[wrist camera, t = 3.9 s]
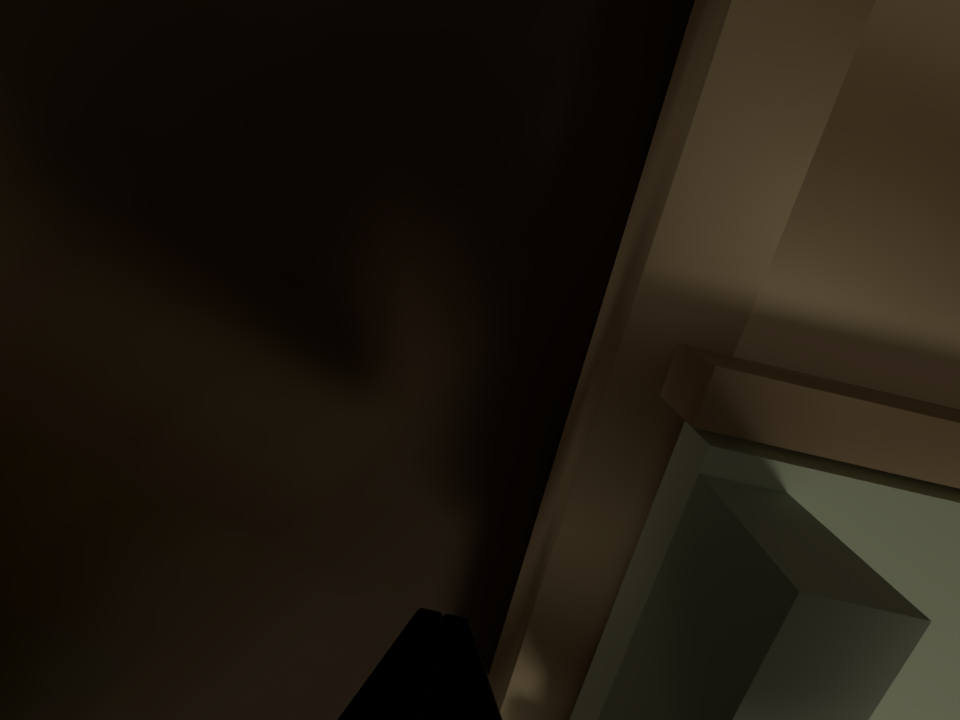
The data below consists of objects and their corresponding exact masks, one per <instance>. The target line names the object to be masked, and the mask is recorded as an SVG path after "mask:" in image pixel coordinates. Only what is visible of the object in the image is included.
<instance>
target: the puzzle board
mask: <svg viewBox="0 0 960 720" xmlns="http://www.w3.org/2000/svg"><path fill="white" fill-rule="evenodd" d="M685 421H686V422H687V423H688V424H689V425H690V426H691V427H694V428H698V429H702V430H707V431H711V432H715V433H720V434H724V435H728V436H733V437H737V438H741V439H746V440H750V441H754V442H759V443H763V444H767V445H772V446H776V447H781V448H785V449H789V450H794V451H798V452H802V453H807V454H811V455H815V456H820V457H824V458H828V459H833V460H837V461H841V462H846V463H850V464H854V465H859V466H863V467H867V468H872V469H876V470H880V471H885V472H889V473H893V474H898V475H902V476H907V477H911V478H915V479H920V480H924V481H928V482H933V483H937V484H941V485H946V486H950V487H954V488H959V489H960V0H695V1H694V5H693V8H692V11H691V14H690V18H689V21H688V24H687V28H686V31H685V34H684V37H683V41H682V44H681V47H680V50H679V54H678V57H677V60H676V64H675V67H674V70H673V73H672V77H671V80H670V83H669V86H668V90H667V93H666V96H665V100H664V103H663V106H662V109H661V113H660V116H659V119H658V122H657V126H656V129H655V132H654V136H653V139H652V142H651V145H650V149H649V152H648V155H647V158H646V162H645V165H644V168H643V172H642V175H641V178H640V181H639V185H638V188H637V191H636V194H635V198H634V201H633V204H632V208H631V211H630V214H629V217H628V221H627V224H626V227H625V230H624V234H623V237H622V240H621V244H620V247H619V250H618V253H617V257H616V260H615V263H614V266H613V270H612V273H611V276H610V280H609V283H608V286H607V289H606V293H605V296H604V299H603V302H602V306H601V309H600V312H599V316H598V319H597V322H596V325H595V329H594V332H593V335H592V338H591V342H590V345H589V348H588V352H587V355H586V358H585V361H584V365H583V368H582V371H581V374H580V378H579V381H578V384H577V388H576V391H575V394H574V397H573V401H572V404H571V407H570V410H569V414H568V417H567V420H566V424H565V427H564V430H563V433H562V437H561V440H560V443H559V446H558V450H557V453H556V456H555V460H554V463H553V466H552V469H551V473H550V476H549V479H548V482H547V486H546V489H545V492H544V496H543V499H542V502H541V505H540V509H539V512H538V515H537V518H536V522H535V525H534V528H533V532H532V535H531V538H530V541H529V545H528V548H527V551H526V554H525V558H524V561H523V564H522V568H521V571H520V574H519V577H518V581H517V584H516V587H515V590H514V594H513V597H512V600H511V604H510V607H509V610H508V613H507V617H506V620H505V623H504V626H503V630H502V633H501V636H500V640H499V643H498V646H497V649H496V653H495V656H494V659H493V662H492V666H491V669H490V672H489V676H488V679H489V682H490V685H491V688H492V690H493V693H494V696H495V699H496V702H497V705H498V708H499V711H500V714H501V717H502V720H570V717H571V715H572V712H573V709H574V707H575V704H576V702H577V699H578V696H579V694H580V691H581V689H582V686H583V683H584V681H585V678H586V676H587V673H588V671H589V668H590V665H591V663H592V660H593V658H594V655H595V652H596V650H597V647H598V645H599V642H600V639H601V637H602V634H603V632H604V629H605V626H606V624H607V621H608V619H609V616H610V614H611V611H612V608H613V606H614V603H615V601H616V598H617V595H618V593H619V590H620V588H621V585H622V582H623V580H624V577H625V575H626V572H627V569H628V567H629V564H630V562H631V559H632V557H633V554H634V551H635V549H636V546H637V544H638V541H639V538H640V536H641V533H642V531H643V528H644V525H645V523H646V520H647V518H648V515H649V513H650V510H651V507H652V505H653V502H654V500H655V497H656V494H657V492H658V489H659V487H660V484H661V481H662V479H663V476H664V474H665V471H666V468H667V466H668V463H669V461H670V458H671V456H672V453H673V450H674V448H675V445H676V443H677V440H678V437H679V435H680V432H681V430H682V427H683V424H684V422H685Z"/></svg>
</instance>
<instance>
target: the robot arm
mask: <svg viewBox="0 0 960 720" xmlns="http://www.w3.org/2000/svg"><path fill="white" fill-rule="evenodd" d="M338 720H502V717H501V714H500V711H499V708H498V705H497V702H496V699H495V696H494V693H493V690H492V688H491V685H490V682H489V679H488V676H487V673H486V670H485V667H484V664H483V661H482V658H481V655H480V653H479V650H478V647H477V644H476V641H475V638H474V635H473V632H472V629H471V626H470V624H469V621H468V620H467V619H466V618H464V617H460V616H456V615H451V614H445V615H444V616H443V618H442V614H441V613H440V612H438V611H433V610H429V609H424V608H420V609H419V610H417V612H416V613H415V614H414V616H413V617H412V618H411V620H410V621H409V622H408V624H407V625H406V627H405V628H404V629H403V631H402V632H401V633H400V635H399V636H398V638H397V639H396V640H395V642H394V643H393V644H392V646H391V647H390V649H389V650H388V651H387V653H386V654H385V655H384V657H383V658H382V660H381V661H380V662H379V664H378V665H377V666H376V668H375V669H374V671H373V672H372V673H371V675H370V676H369V677H368V679H367V680H366V682H365V683H364V684H363V686H362V687H361V688H360V690H359V691H358V693H357V694H356V695H355V697H354V698H353V699H352V701H351V702H350V704H349V705H348V706H347V708H346V709H345V710H344V712H343V713H342V715H341V716H340V717H339V719H338Z"/></svg>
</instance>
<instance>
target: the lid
mask: <svg viewBox="0 0 960 720" xmlns="http://www.w3.org/2000/svg"><path fill="white" fill-rule="evenodd" d="M570 720H960V489H959V488H954V487H950V486H946V485H941V484H937V483H933V482H928V481H924V480H920V479H915V478H911V477H907V476H902V475H898V474H893V473H889V472H885V471H880V470H876V469H872V468H867V467H863V466H859V465H854V464H850V463H846V462H841V461H837V460H833V459H828V458H824V457H820V456H815V455H811V454H807V453H802V452H798V451H794V450H789V449H785V448H781V447H776V446H772V445H767V444H763V443H759V442H754V441H750V440H746V439H741V438H737V437H733V436H728V435H724V434H720V433H715V432H711V431H707V430H702V429H698V428H694V427H691V426H690V425H689V424H688V423H687V422H686V421H685V422H684V424H683V427H682V430H681V432H680V435H679V437H678V440H677V443H676V445H675V448H674V450H673V453H672V456H671V458H670V461H669V463H668V466H667V468H666V471H665V474H664V476H663V479H662V481H661V484H660V487H659V489H658V492H657V494H656V497H655V500H654V502H653V505H652V507H651V510H650V513H649V515H648V518H647V520H646V523H645V525H644V528H643V531H642V533H641V536H640V538H639V541H638V544H637V546H636V549H635V551H634V554H633V557H632V559H631V562H630V564H629V567H628V569H627V572H626V575H625V577H624V580H623V582H622V585H621V588H620V590H619V593H618V595H617V598H616V601H615V603H614V606H613V608H612V611H611V614H610V616H609V619H608V621H607V624H606V626H605V629H604V632H603V634H602V637H601V639H600V642H599V645H598V647H597V650H596V652H595V655H594V658H593V660H592V663H591V665H590V668H589V671H588V673H587V676H586V678H585V681H584V683H583V686H582V689H581V691H580V694H579V696H578V699H577V702H576V704H575V707H574V709H573V712H572V715H571V717H570Z"/></svg>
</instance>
